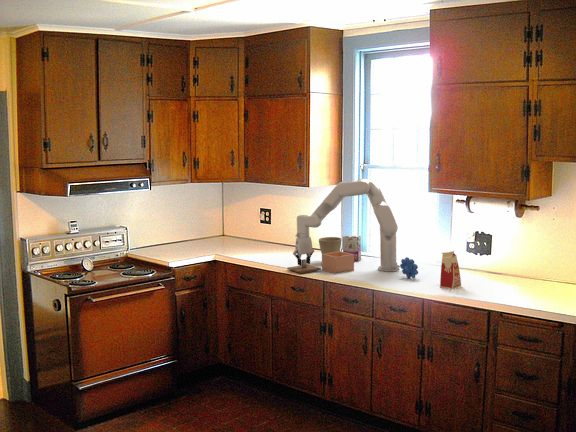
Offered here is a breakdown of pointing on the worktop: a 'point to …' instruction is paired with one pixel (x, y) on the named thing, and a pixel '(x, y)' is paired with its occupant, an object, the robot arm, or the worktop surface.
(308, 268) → the lid
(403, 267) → the grapes
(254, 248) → the worktop surface
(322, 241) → the plant pot
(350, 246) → the candy bar box
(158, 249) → the worktop surface
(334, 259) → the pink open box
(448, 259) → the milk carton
